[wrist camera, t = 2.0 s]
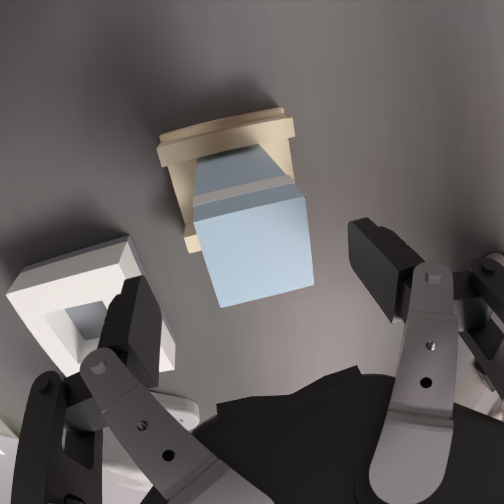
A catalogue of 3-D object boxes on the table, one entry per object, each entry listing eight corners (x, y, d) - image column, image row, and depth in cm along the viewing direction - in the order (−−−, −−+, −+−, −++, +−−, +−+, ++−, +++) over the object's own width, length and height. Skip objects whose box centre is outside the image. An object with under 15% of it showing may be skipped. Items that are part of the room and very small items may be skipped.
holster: (279, 107, 19) (291, 110, 17) (296, 212, 23) (307, 230, 21) (161, 134, 19) (154, 141, 17) (191, 237, 23) (190, 258, 21)
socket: (129, 234, 22) (118, 263, 19) (175, 336, 28) (174, 369, 25) (24, 266, 22) (5, 294, 19) (80, 353, 28) (71, 382, 24)
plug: (258, 142, 19) (305, 194, 11) (269, 199, 22) (315, 285, 13) (196, 156, 19) (191, 221, 11) (211, 213, 21) (219, 309, 13)
